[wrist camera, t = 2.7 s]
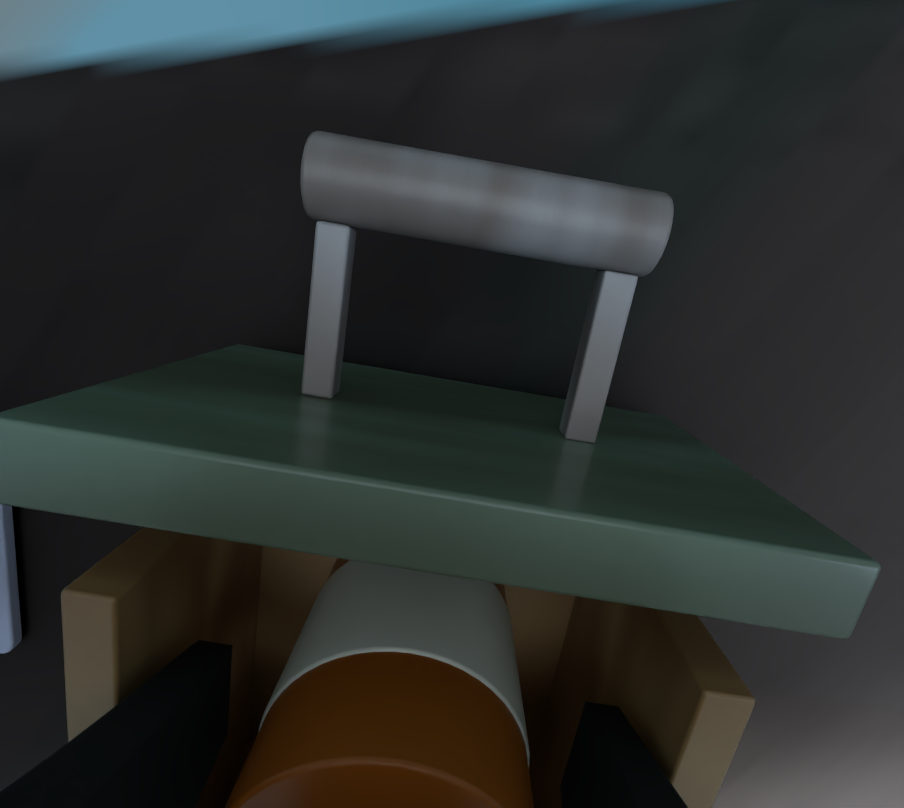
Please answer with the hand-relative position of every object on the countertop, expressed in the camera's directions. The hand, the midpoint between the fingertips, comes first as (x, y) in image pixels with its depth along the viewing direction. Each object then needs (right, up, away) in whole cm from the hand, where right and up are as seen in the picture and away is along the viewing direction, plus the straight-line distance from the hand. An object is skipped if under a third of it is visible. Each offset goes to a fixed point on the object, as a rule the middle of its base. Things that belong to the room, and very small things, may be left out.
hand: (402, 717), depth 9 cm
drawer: (0, +2, +5) cm, 5 cm away
